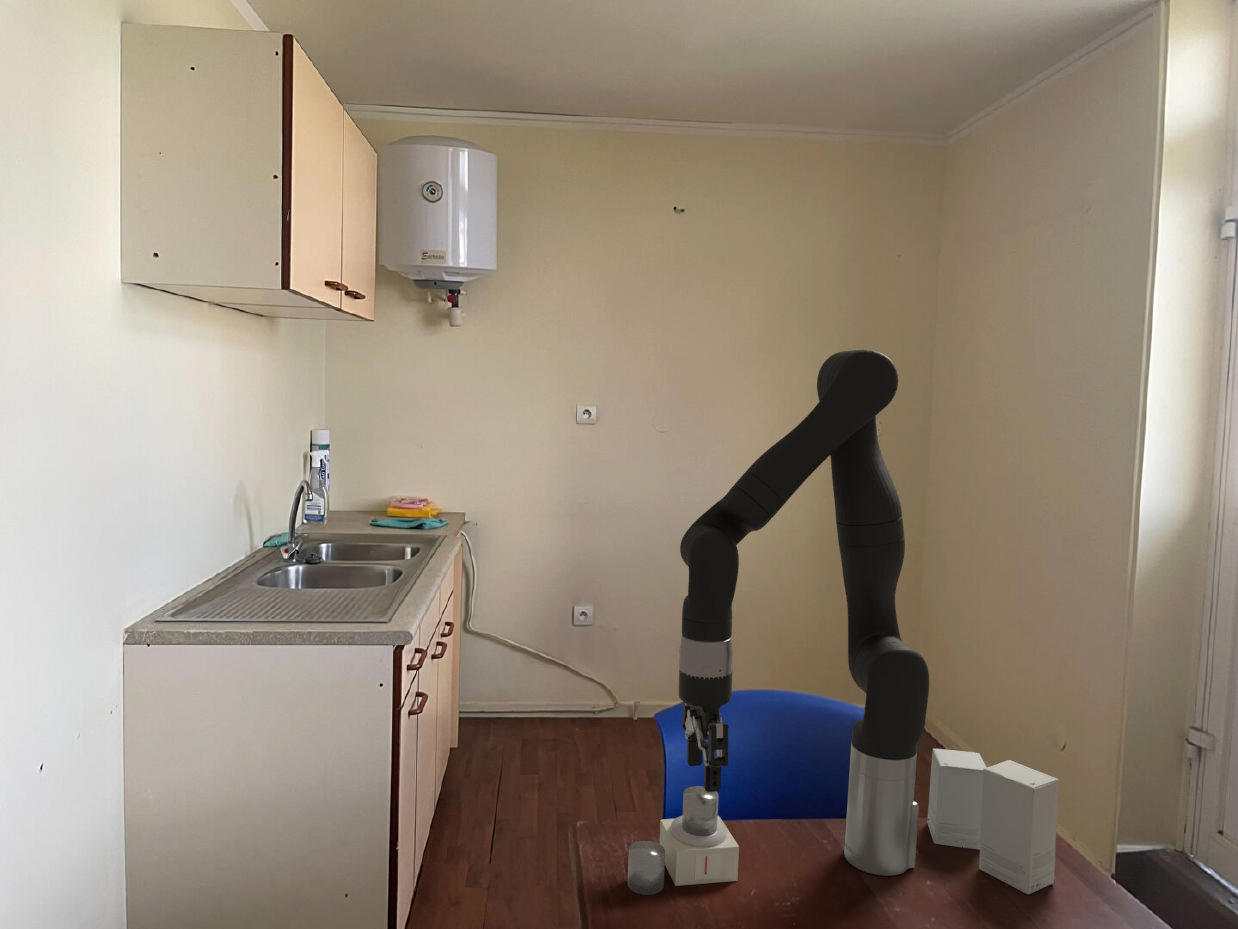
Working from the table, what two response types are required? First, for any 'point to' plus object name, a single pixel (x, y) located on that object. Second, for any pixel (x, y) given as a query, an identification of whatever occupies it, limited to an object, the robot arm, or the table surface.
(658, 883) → the cylinder
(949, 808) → the supplement box
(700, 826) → the cylinder
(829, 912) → the table surface
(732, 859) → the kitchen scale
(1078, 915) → the table surface
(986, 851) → the skincare box
